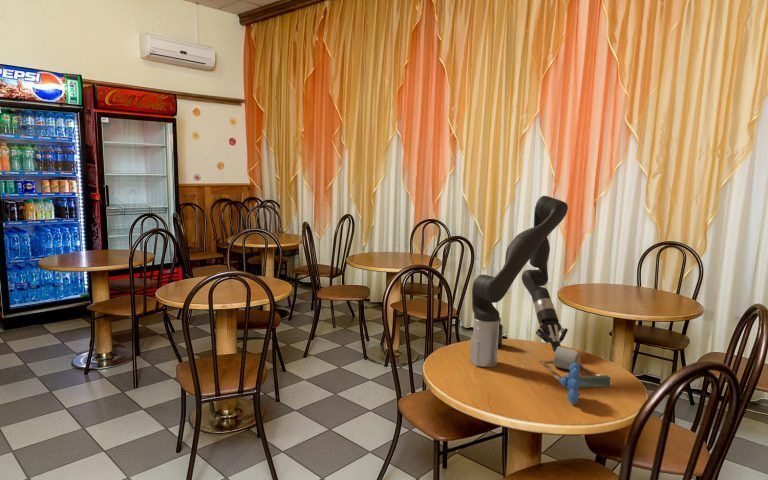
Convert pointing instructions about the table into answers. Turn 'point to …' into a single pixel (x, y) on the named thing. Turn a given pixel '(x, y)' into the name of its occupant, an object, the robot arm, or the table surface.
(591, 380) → the bay
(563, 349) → the ceramic mug
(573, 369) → the grapes
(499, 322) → the supplement bottle
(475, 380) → the table surface
